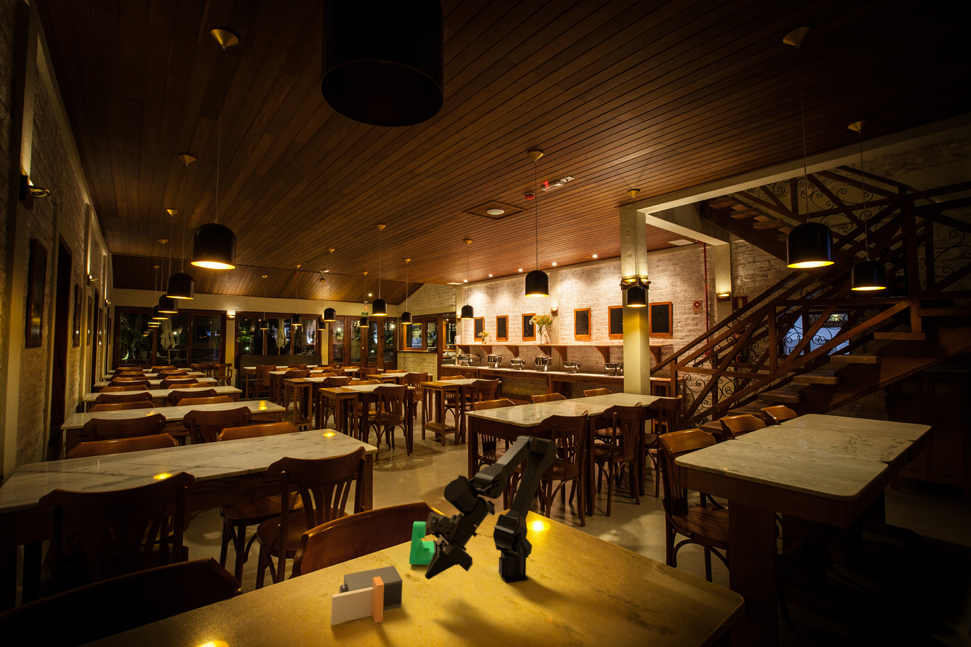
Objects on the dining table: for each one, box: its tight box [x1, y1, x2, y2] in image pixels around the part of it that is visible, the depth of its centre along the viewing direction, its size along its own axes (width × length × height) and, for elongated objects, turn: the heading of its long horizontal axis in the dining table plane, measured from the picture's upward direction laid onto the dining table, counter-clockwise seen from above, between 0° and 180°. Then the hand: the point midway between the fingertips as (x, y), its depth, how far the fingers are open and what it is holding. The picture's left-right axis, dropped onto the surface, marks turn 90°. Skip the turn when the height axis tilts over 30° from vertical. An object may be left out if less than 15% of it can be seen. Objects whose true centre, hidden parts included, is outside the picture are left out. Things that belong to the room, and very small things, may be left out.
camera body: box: [338, 565, 403, 612], centre depth 101 cm, size 13×8×6 cm, turn 116°
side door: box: [330, 576, 384, 625], centre depth 93 cm, size 10×5×8 cm, turn 116°
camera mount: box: [408, 521, 434, 566], centre depth 126 cm, size 12×8×10 cm, turn 179°
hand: (426, 577), depth 100 cm, fingers closed
